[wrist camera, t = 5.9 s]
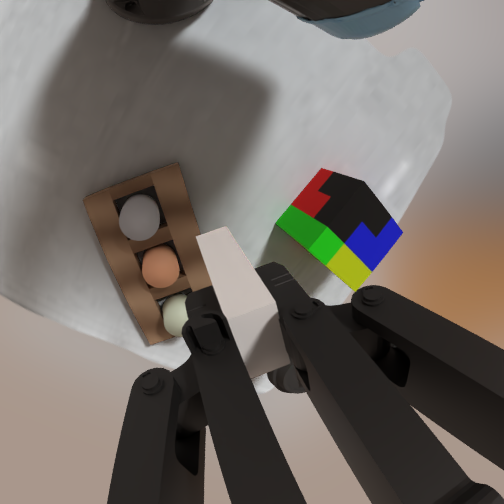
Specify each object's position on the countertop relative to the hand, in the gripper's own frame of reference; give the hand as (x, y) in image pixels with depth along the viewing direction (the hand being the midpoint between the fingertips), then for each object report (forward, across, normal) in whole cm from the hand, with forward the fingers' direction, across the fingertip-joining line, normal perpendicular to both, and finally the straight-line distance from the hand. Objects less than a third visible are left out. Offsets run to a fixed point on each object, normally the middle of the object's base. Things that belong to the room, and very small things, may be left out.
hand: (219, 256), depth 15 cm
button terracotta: (+24, -6, -10) cm, 26 cm away
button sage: (+22, -6, -17) cm, 29 cm away
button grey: (+23, -6, -3) cm, 24 cm away
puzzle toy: (+25, +17, -12) cm, 32 cm away
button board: (+24, -6, -10) cm, 27 cm away
